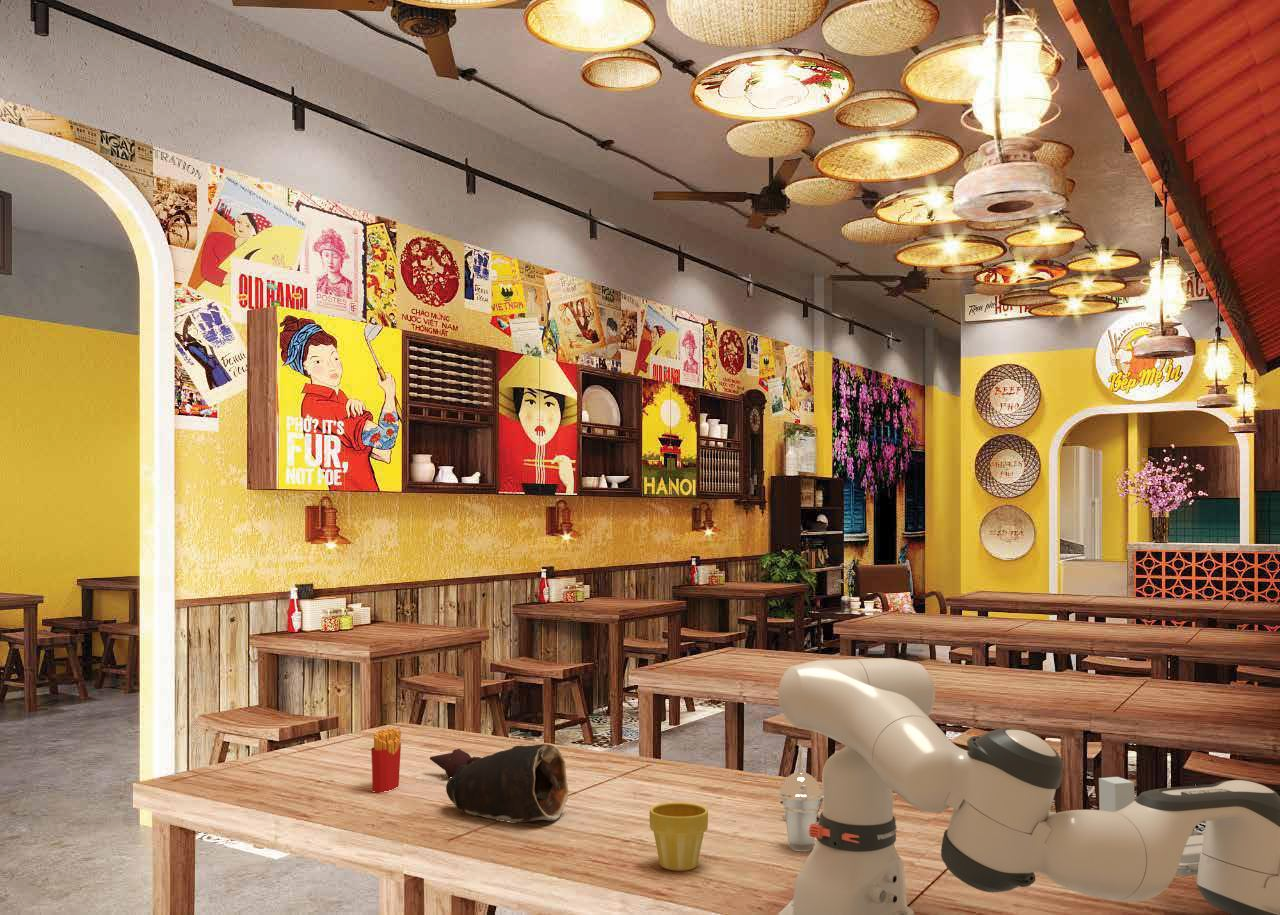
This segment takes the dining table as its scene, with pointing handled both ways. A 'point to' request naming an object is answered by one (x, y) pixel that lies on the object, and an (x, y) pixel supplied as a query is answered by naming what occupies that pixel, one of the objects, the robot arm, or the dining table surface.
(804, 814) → the cup with straw
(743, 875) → the dining table surface
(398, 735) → the french fries
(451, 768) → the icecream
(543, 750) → the dark brown tapered cylinder
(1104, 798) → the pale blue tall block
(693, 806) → the plant pot
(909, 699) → the robot arm
